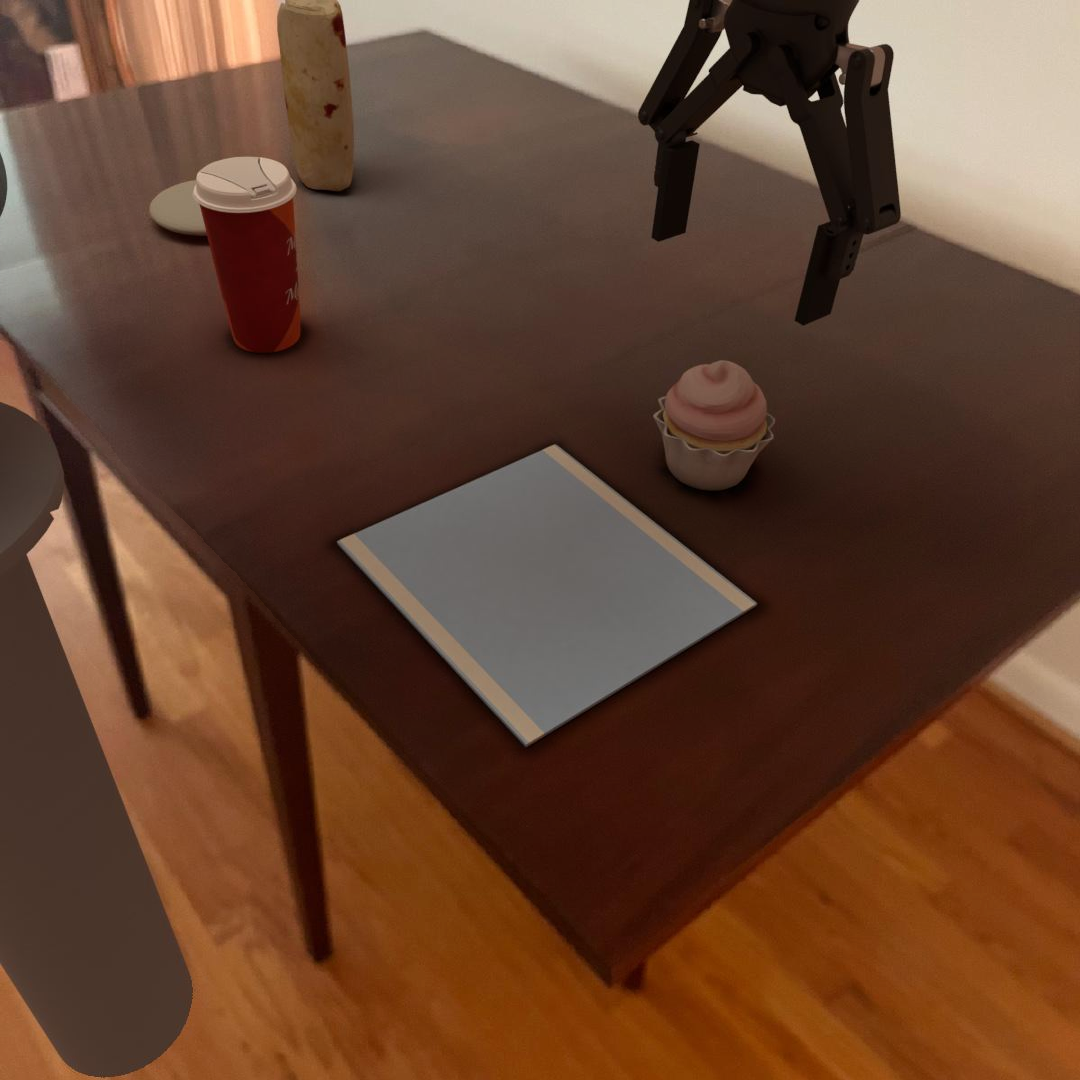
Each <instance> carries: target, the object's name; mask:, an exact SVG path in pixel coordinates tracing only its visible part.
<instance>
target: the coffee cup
mask: <svg viewBox="0 0 1080 1080" xmlns="http://www.w3.org/2000/svg"><path fill="white" fill-rule="evenodd" d="M289 172H290V171H289V170H288V168H287V167H286V166H285V165H284V164H283V163H281V162H279V161H277V160H275V159H271V158H267V157H261V156H260V157H259V156H234V157H229V158H223V159H220V160H216V161H213V162H211V163H209V164H207V165H205V166H204V167H202V168H201V169H200V170H199V171H198V172H197V174H196V178H195V180H196V185H195V187H194V190H193V197H194V199H195V200H196V201H197V202H198V203H199V204H200V208H201V212H202V216H203V220H204V224H205V228H206V233H207V241H208V245H209V248H210V253H211V257H212V261H213V264H214V269H215V273H216V277H217V281H218V286H219V289H220V294H221V297H222V302H223V305H224V310H225V313H226V317H227V322H228V325H229V328H230V333H231V336H232V338H233V342H234V343H235V344H236V345H237V346H238V348H240V349H242V350H244V351H247V352H250V353H257V354H269V353H276V352H280V351H283V350H286V349H288V348H291V347H292V346H294V345H295V344H297V342H298V341H299V339H300V337H301V308H300V307H301V304H300V289H299V288H300V287H299V273H298V272H299V271H298V270H299V269H298V255H297V240H296V239H297V238H296V223H295V208H294V205H295V204H294V197H295V196H296V193H297V189H298V188H297V185H296V182H295V181H294V180H293V179H292V178H291V175H290V173H289Z"/></svg>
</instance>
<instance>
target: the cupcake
mask: <svg viewBox="0 0 1080 1080" xmlns="http://www.w3.org/2000/svg"><path fill="white" fill-rule="evenodd" d="M658 404H659V407H660V409H659V410H658V411H657V412H655V413H654V414H653V416H652V418H653V419H654V422H655V424H656V425H657V427H658V429H659V431H660V434H661V437H662V442H663V447H664V455H665V462H666V465H667V469H668V470H669V472H670V473H671V475H672V476H673V477H674V478H675V479H677V481H679V482H680V483H682V484H684V485H686V486H688V487H691V488H694V489H697V490H701V491H710V492H711V491H723V490H727V489H731V488H732V487H734V486H737V485H738V484H739V483H740V482H742V480H744V478H745V477H746V475H747V473H748V472H749V470H750V468H751V466H752V464H753V463H754V462H755V460H756V458H757V456H759V453H760V452H761V451H762V450H763V449H764V448H765V447H766V446H767V445H768V444H769V443H770V442H771V441H772V440H774V433H773V432H772V430H771V429H772V428H773V426H774V425H775V423H776V418H775V417H774V416H772V415H771V414H769V413H768V405H767V399H766V398H765V395H764V393H763V391H762V389H761V388H760V386H759V385H758V384H757V383H755V382H754V380H753V378H752V376H751V375H750V374H749V373H748V371H747V370H746V369H745V368H744V367H742V366H740V365H738V364H737V363H735V362H732V361H729V360H718V361H717V360H716V361H715V362H714V361H713V362H712V363H710V364H708V363H704V364H699V365H694V366H693V367H690V368H688V370H686V371H685V372H683V374H682V375H681V377H680V379H679V380H678V381H677V382H676V383H675V384H674V385H672V386H671V388H670V389H669V390H668V391H667V393H666V395H665V396H661V397H659V398H658Z"/></svg>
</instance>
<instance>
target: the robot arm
mask: <svg viewBox="0 0 1080 1080" xmlns="http://www.w3.org/2000/svg"><path fill="white" fill-rule="evenodd" d="M859 2H860V0H688V4H687V9H686V14H685V19H684V22H683V27H682V28H681V30H680V32H679V34H678V36H677V38H676V40H675V41H674V43H673V45H672V47H671V49H670V51H669V53H668V55H667V56H666V59H665V60H664V62H663V64H662V66H661V68H660V69H659V71H658V73H657V76H656V77H655V79H654V80H653V83H652V85H651V87H650V88H649V90H648V92H647V94H646V96H645V98H644V99H643V101H642V104H641V106H640V107H639V109H638V112H637V118H638V121H639V123H640V124H641V125H642V126H649V127H650V128H651V129H652V130H653V132H654V138H655V141H656V142H657V149H656V157H655V165H654V173H653V182H654V186H655V187H656V188H657V192H656V200H655V207H654V216H653V223H652V231H651V239H653V240H654V241H656V242H657V243H659V242H663V241H665V240H668V239H673V238H674V237H677V236H681V235H682V234H686V233H687V228H688V227H687V226H688V221H689V220H688V219H689V213H690V208H691V203H692V194H693V190H694V189H693V188H694V182H695V176H696V170H697V164H698V158H699V151H700V143H699V142H697V141H695V140H693V139H691V140H687V138H690V137H693V136H696V135H698V134H699V133H698V132H697V130H698V129H700V127H701V126H702V125H703V124H704V123H706V122H707V120H709V119H710V118H711V116H713V115H714V114H715V113H716V112H717V111H718V110H719V109H720V108H721V107H723V105H724V104H725V103H726V102H728V100H730V99H731V97H732V96H733V95H735V94H736V93H737V92H738V91H739V90H740V89H741V88H742V91H744V92H745V93H748V94H750V95H758V96H760V95H761V96H763V97H764V98H765V99H766V100H767V101H768V102H770V103H771V104H773V105H776V106H778V107H780V108H781V107H784V106H786V109H787V112H788V115H789V118H790V120H791V121H792V122H793V123H794V124H796V125H797V126H798V127H799V131H800V133H801V136H802V139H803V142H804V145H805V148H806V152H807V154H808V158H809V160H810V163H811V167H812V169H813V173H814V176H815V180H816V183H817V185H818V188H819V191H820V194H821V197H822V200H823V203H824V208H825V210H826V213H827V216H828V219H829V221H828V222H827V221H826V222H825V223H822V224H818V225H817V228H816V233H815V236H814V240H813V244H812V248H811V252H810V256H809V260H808V265H807V269H806V272H805V276H804V281H803V285H802V289H801V293H800V295H799V296H800V297H799V301H798V305H797V308H796V313H795V317H794V322H796V323H798V324H799V325H801V326H806V325H809V324H811V323H813V322H815V321H818V320H820V319H822V318H825V317H827V316H830V315H831V314H832V310H833V307H834V303H835V299H836V296H837V292H838V288H839V285H840V282H841V280H842V279H844V278H846V277H849V276H850V275H851V274H852V273H853V271H854V270H855V267H856V263H857V262H856V261H857V259H858V255H859V252H860V249H861V245H862V242H863V241H862V240H863V237H864V235H866V236H867V235H871V234H874V233H877V232H878V231H881V230H885V229H886V228H890V227H892V226H894V225H897V224H898V223H899V222H900V220H901V217H902V211H901V203H900V195H899V194H900V193H899V183H898V174H897V173H898V172H897V164H896V154H895V144H894V135H893V134H894V133H893V125H892V123H893V122H892V116H891V115H892V113H891V106H890V105H891V104H890V96H889V86H890V81H891V75H892V68H893V63H894V57H895V55H894V54H895V53H894V49H893V47H892V46H891V45H889V44H888V43H883V44H879V45H874V46H865V45H861V44H857V43H856V44H855V43H851V42H850V38H849V37H850V36H849V24H850V19H851V17H852V15H853V14H854V11H855V9H856V7H857V6H858V4H859ZM723 31H725V35H726V38H727V43H728V45H729V48H728V49H727V50H726V51H725V52H724V53H723V54H722V55H721V56H720V57H719V58H718V59H717V60H716V61H715V63H713V65H711V67H709V69H708V74H707V75H706V76H705V77H704V78H703V79H702V80H701V81H700V82H699V83H698V84H697V85H696V86H695V87H694V88H693V89H692V90H691V88H692V86H693V85H694V83H695V82H696V80H697V78H698V76H699V74H700V73H701V71H702V69H703V67H704V66H705V64H706V62H707V60H708V59H709V57H710V55H711V53H712V52H713V50H714V48H715V47H716V45H717V43H718V41H719V39H720V38H721V35H722V33H723ZM839 69H840V70H841V71H840V72H841V73H840V74H839V76H838V78H837V75H836V73H837V71H838V70H839ZM840 85H841V86H844V88H843V94H842V91H841V87H840ZM690 90H691V91H690ZM816 92H817V95H818V99H815V100H810V99H811V97H813V96H814V95H815V93H816ZM842 108H843V110H844V116H843V113H842ZM3 158H4V157H3V156H2V153H1V152H0V218H1V216H2V214H3V212H4V210H5V206H6V202H7V196H8V177H7V170H6V166H5V161H4V159H3Z"/></svg>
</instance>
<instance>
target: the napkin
mask: <svg viewBox="0 0 1080 1080" xmlns="http://www.w3.org/2000/svg"><path fill="white" fill-rule="evenodd" d="M336 543H337V546H338V547H339V548H340V549H341V550H342V551H343V552H344V553H345V554H346V555H347V557H348V558H350V560H351V561H352V562H353V563H354V564H355V565H356V566H357V567H358V569H359V570H360V571H362V573H363V574H364V575H365V576H366V577H367V578H368V580H370V581H371V582H372V583H373V584H374V586H375V587H376V588H377V589H378V590H379V592H381V593H382V594H383V596H384V597H386V598H387V600H389V602H390V603H391V604H392V605H393V606H394V607H395V608H396V609H397V610H398V612H400V613H401V614H402V616H403V617H404V618H405V619H406V620H407V621H408V622H409V623H410V624H411V625H412V626H413V627H414V629H415V630H417V632H418V633H419V634H420V635H421V636H422V637H423V638H424V640H426V642H427V643H428V644H429V645H430V646H431V647H432V648H433V649H434V650H435V651H436V652H437V653H438V654H439V656H440V657H441V658H442V659H443V660H444V661H445V662H446V663H447V664H448V665H449V666H450V667H451V668H452V669H453V671H454V672H455V673H456V674H457V675H458V676H459V677H460V678H461V679H462V680H463V682H464V683H466V685H467V686H468V687H469V688H470V689H471V690H472V691H473V692H474V694H475V695H477V697H478V698H479V699H480V700H481V701H482V702H483V704H485V705H486V706H487V707H488V708H489V709H490V710H491V712H492V713H493V715H495V716H496V717H497V718H498V719H499V720H500V721H501V722H502V724H503V725H505V727H506V728H507V729H508V730H509V732H510V733H512V735H514V737H516V739H517V740H518V741H520V744H522V745H523V747H524V748H528V747H529V746H531V745H532V744H535V743H536V742H538V741H539V740H541V739H542V738H544V737H545V736H547V735H549V734H550V733H552V732H554V731H555V730H557V729H558V728H560V727H562V726H563V725H565V724H566V723H568V722H570V721H572V720H573V719H575V718H576V717H578V716H580V715H581V714H583V713H584V712H586V711H588V710H589V709H591V708H593V707H595V706H596V705H598V704H599V703H601V702H603V701H604V700H606V699H607V698H610V697H611V696H612V695H614V694H615V693H617V692H619V691H621V690H622V689H624V688H625V687H627V686H629V685H630V684H632V683H634V682H636V681H637V680H638V679H640V678H642V677H643V676H645V675H647V674H649V673H650V672H651V671H653V670H655V669H657V668H658V667H660V666H661V665H663V664H664V663H666V662H668V661H669V660H671V659H673V658H674V657H676V656H678V655H679V654H681V653H683V652H684V651H686V650H688V649H690V648H691V647H692V646H694V645H696V644H697V643H698V642H700V641H702V640H704V639H706V638H707V637H708V636H710V635H712V634H713V633H715V632H717V631H718V630H720V629H722V628H723V627H725V626H726V625H728V624H729V623H731V622H733V621H734V620H736V619H738V618H739V617H741V616H743V615H744V614H746V613H747V612H749V611H751V610H753V609H754V608H756V607H757V606H758V603H757V601H755V600H754V599H752V598H751V597H750V596H749V595H748V594H746V593H745V592H743V591H742V590H741V589H740V588H739V587H737V586H736V585H735V584H734V583H733V582H731V581H730V580H729V579H727V577H725V576H724V575H722V573H720V572H718V571H717V570H715V568H713V567H712V566H711V565H709V564H708V563H707V562H706V561H704V559H702V558H701V557H700V556H699V555H697V554H695V552H693V551H692V550H691V549H689V547H687V546H685V545H684V544H683V543H682V542H681V541H679V540H678V539H677V538H675V537H674V536H673V535H672V534H670V532H668V531H666V530H665V529H664V528H663V527H662V526H660V525H659V524H658V523H656V522H655V521H654V520H652V519H651V518H650V517H649V516H648V515H646V514H645V513H643V511H641V510H640V509H638V508H637V507H636V506H635V505H634V504H633V503H631V502H630V501H629V500H627V499H626V498H624V497H623V496H622V495H621V494H620V493H618V491H616V490H615V489H614V488H612V487H611V486H609V485H608V484H607V483H606V482H605V481H603V480H602V479H601V478H599V477H598V476H597V475H596V474H594V473H593V472H592V471H591V470H589V469H588V468H587V467H585V466H584V465H583V464H582V463H581V462H579V461H578V460H577V459H575V458H574V457H573V456H571V455H570V454H569V453H568V452H566V451H565V450H564V449H563V448H561V447H560V446H559V445H558V444H556V443H554V444H552V445H550V446H548V447H545V448H543V449H541V450H539V451H537V452H534V453H532V454H530V455H528V456H526V457H523V458H521V459H519V460H517V461H515V462H512V463H510V464H508V465H506V466H503V467H500V468H498V469H497V470H494V471H492V472H489V473H487V474H485V475H482V476H481V477H478V478H475V479H473V480H471V481H470V482H467V483H465V484H463V485H460V486H459V487H456V488H454V489H451V490H449V491H447V492H444V493H443V494H440V495H438V496H435V497H434V498H431V499H428V500H427V501H425V502H422V503H420V504H417V505H416V506H413V507H411V508H409V509H406V510H404V511H402V512H400V513H398V514H395V515H393V516H391V517H388V518H386V519H384V520H382V521H379V522H378V523H375V524H373V525H371V526H368V527H365V528H364V529H362V530H359V531H357V532H354V533H352V534H349V535H348V536H345V537H343V538H341V539H339V540H337V541H336Z"/></svg>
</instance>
